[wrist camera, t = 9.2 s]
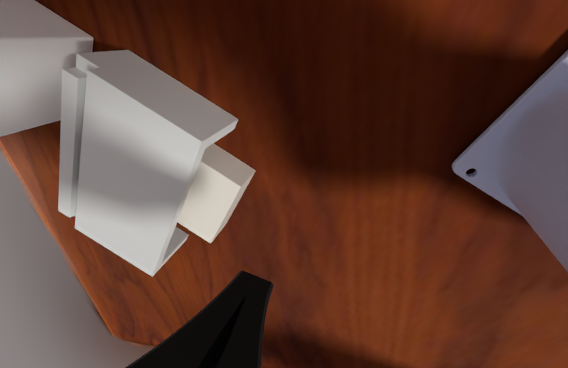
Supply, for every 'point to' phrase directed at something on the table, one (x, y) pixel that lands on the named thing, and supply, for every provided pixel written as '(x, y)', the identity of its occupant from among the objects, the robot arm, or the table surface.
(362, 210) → the table surface
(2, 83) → the milk
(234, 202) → the cream rectangular beam
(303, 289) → the table surface
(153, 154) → the slotted white box
